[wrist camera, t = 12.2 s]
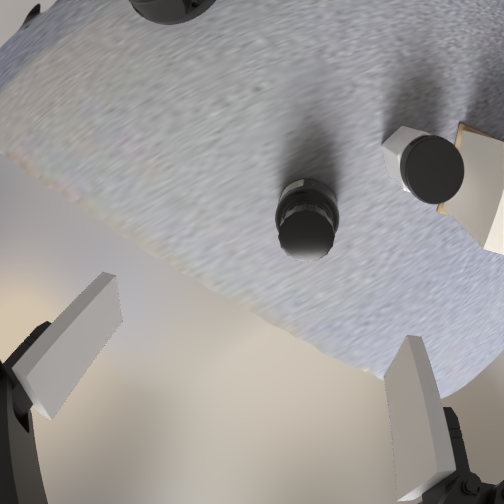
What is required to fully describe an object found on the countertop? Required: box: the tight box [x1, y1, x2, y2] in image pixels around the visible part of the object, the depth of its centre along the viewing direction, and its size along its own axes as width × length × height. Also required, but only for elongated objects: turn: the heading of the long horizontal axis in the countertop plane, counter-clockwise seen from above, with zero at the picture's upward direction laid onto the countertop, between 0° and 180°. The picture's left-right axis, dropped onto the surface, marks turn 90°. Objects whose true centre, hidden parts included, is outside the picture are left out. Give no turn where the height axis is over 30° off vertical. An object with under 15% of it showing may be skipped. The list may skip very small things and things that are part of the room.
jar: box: [382, 126, 464, 204], centre depth 36 cm, size 9×8×12 cm
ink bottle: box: [275, 179, 339, 262], centre depth 43 cm, size 10×9×12 cm
